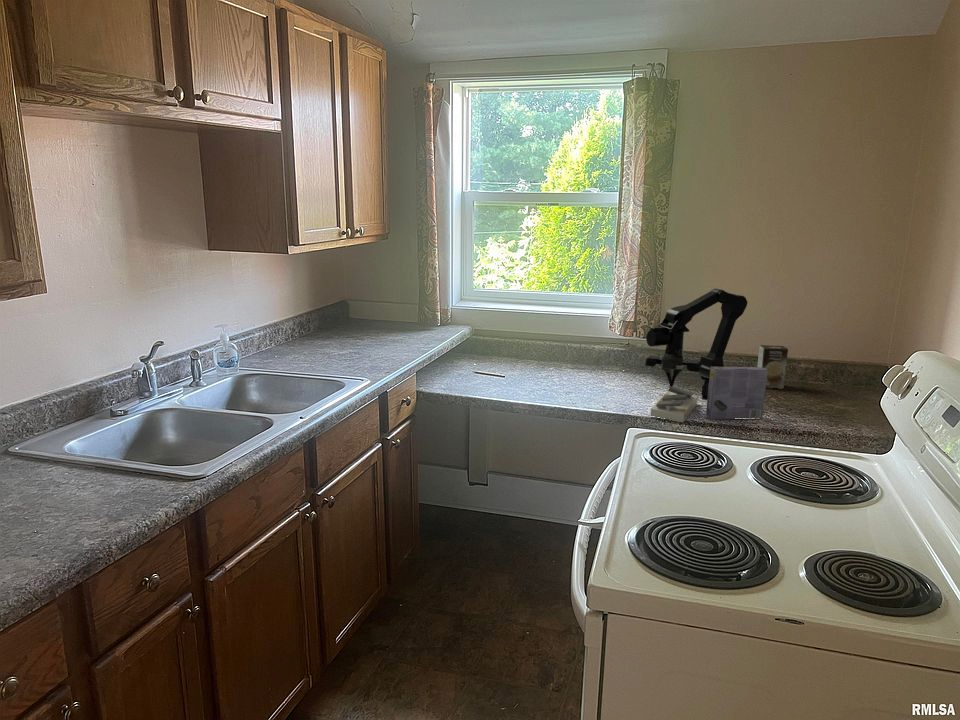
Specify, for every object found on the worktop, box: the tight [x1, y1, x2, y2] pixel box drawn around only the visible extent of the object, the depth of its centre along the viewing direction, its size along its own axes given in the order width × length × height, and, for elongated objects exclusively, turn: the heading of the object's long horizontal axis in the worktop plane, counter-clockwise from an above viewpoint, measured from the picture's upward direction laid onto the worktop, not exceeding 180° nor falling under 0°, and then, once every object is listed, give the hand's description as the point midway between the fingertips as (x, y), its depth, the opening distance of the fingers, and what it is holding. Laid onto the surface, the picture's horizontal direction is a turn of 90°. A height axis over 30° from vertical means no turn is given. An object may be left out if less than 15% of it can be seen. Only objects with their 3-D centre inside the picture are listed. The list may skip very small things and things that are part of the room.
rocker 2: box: [655, 400, 683, 407], centre depth 233 cm, size 8×4×1 cm, turn 62°
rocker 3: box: [667, 385, 694, 398], centre depth 247 cm, size 8×4×1 cm, turn 62°
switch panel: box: [649, 391, 698, 423], centre depth 240 cm, size 11×23×4 cm, turn 152°
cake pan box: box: [705, 366, 768, 420], centre depth 231 cm, size 19×5×18 cm, turn 92°
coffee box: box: [756, 344, 789, 390], centre depth 269 cm, size 9×6×16 cm
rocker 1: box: [661, 394, 688, 401], centre depth 240 cm, size 8×4×1 cm, turn 62°
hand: (671, 386), depth 248 cm, fingers closed
